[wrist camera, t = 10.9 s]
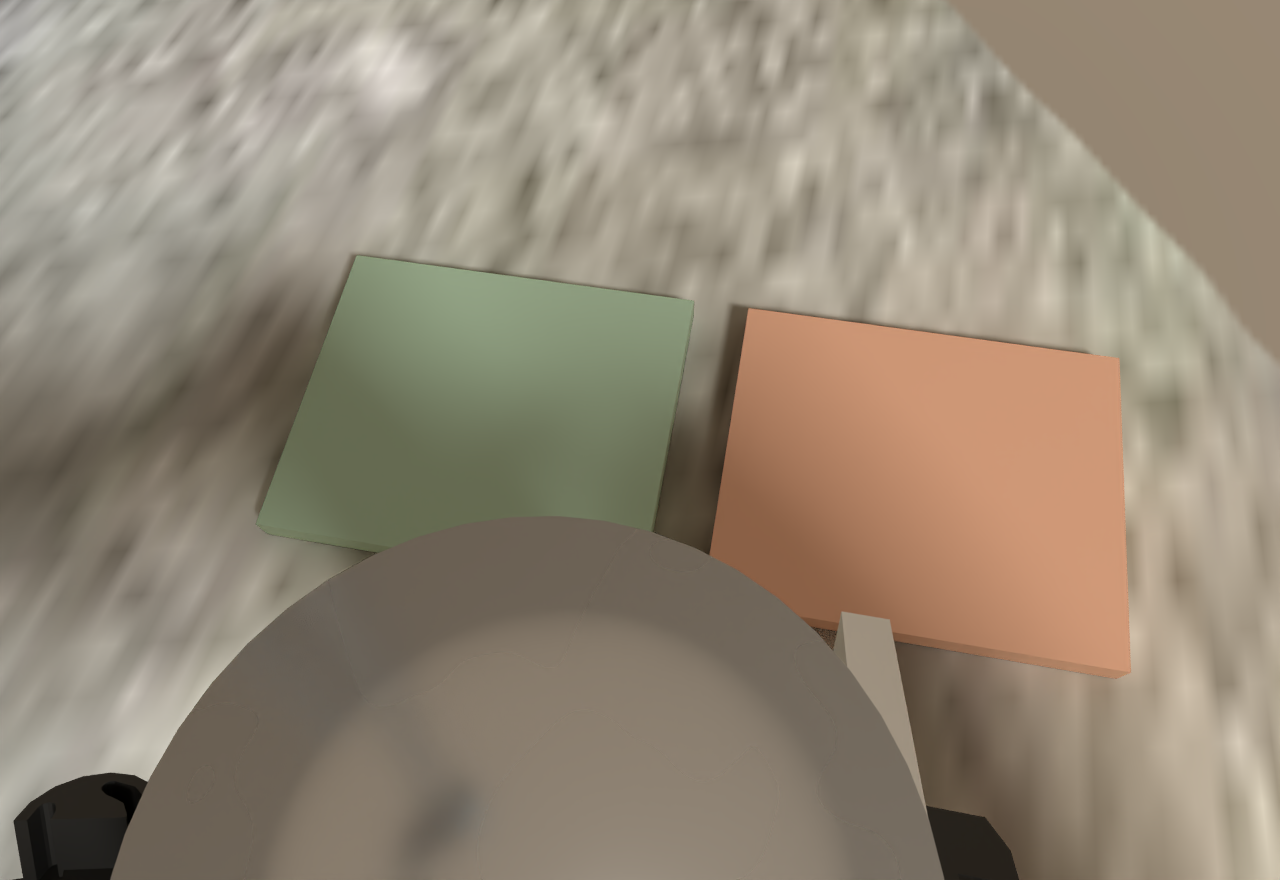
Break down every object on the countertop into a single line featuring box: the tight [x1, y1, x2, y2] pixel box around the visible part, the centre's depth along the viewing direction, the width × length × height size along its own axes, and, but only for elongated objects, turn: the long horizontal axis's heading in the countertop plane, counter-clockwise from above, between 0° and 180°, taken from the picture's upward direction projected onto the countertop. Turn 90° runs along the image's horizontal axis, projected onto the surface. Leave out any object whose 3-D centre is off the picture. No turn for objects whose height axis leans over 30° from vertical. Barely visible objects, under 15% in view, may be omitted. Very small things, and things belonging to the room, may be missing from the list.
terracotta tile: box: [710, 308, 1131, 679], centre depth 31 cm, size 11×13×1 cm
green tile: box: [256, 255, 694, 553], centre depth 33 cm, size 11×13×1 cm
